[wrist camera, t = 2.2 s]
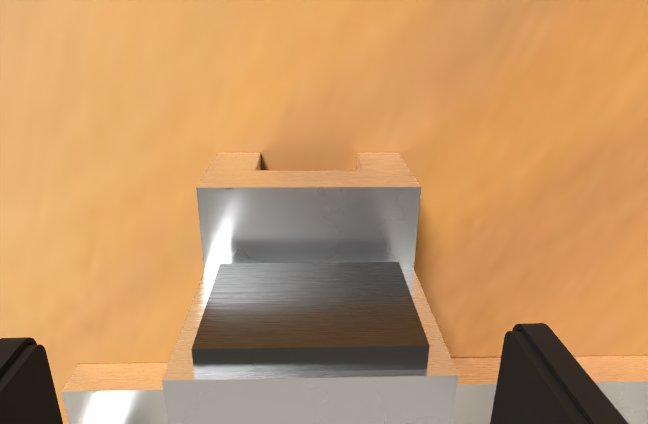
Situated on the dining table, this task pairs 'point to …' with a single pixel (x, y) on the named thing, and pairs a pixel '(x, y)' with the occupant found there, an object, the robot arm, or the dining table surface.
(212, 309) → the notched grey block
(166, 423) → the grey vise fixture
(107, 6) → the dining table surface
